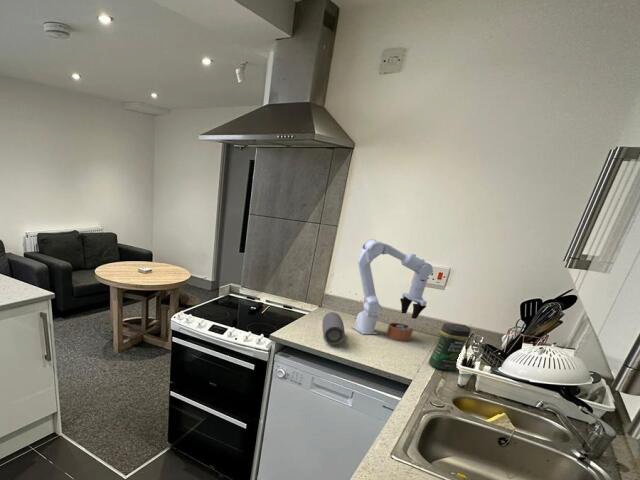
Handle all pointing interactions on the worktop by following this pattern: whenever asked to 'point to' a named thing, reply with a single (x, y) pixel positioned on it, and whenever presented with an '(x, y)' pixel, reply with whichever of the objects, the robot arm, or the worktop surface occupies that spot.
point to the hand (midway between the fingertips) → (408, 315)
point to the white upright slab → (403, 327)
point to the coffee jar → (449, 346)
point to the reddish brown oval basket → (398, 332)
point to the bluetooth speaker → (333, 328)
